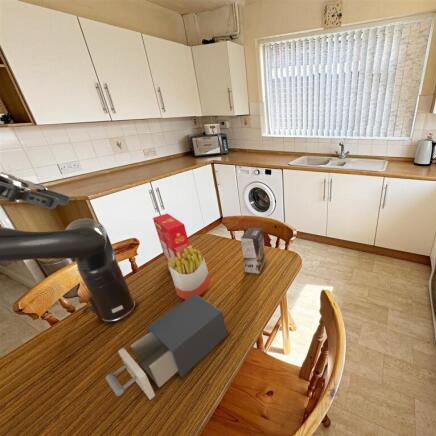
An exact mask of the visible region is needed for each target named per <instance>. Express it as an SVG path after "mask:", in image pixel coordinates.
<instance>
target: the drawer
mask: <svg viewBox="0 0 436 436" xmlns="http://www.w3.org/2000/svg"><path fill="white" fill-rule="evenodd" d="M130 347H131V349H132V351H133V353H134V356H135V358H136V360H137V362H136V360H134V358H133V357H132V356H131V355H130V353H129V352H128V351H127V350H126V349H125V347H122V348H120V349H119V350H117V352H118V355H119V357H120V358H121V360H122V362H123V365H122V366H121V367H119V368H118V369H117V370H115V371H114V372H113V373H112V372H110V373H108V374H107V375H106V376H105V380H106V382H107V384H108V385H109V387H110V388H111V389H112V391H113V392H114V394H115V396H117V397H119V396H122V395H123V393H124V392H125V390H126V389H127V388H128V387H129V386H130V385H132V384H133V383H136V384H137V385H138V386H139V388H140V389H141V390H142V391H143V393H144V394H145V396H147V398H148V399H149V400H150V401H151V400H152V399H153V398H154V397H155V396H156V393H155V391H154V389H153V386H152V385H151V382H150V380H149V378H150V379H151V380H152V381H153V382H154V384H155V386H157V387H158V388H161V387H162V386H163V385H164V384H165V383H167V382H168V381H169V380H170V379H171V378H172V377H174V375H175V374H177V371H178V369H177V366H176V363H175V361H174V358H173V355H172V352H171V351H170V350H169V349H168V348H167V347H166V346H165V345H164V344H163V343H162V342H161V341H159V340H158V339H157V338H156V337H155V336H154V335H153V334H152V333H151V332H147V333H146V334H145V335H143V336H142V337H140V338H139V339H137V340H136V341H134V342H133V343H132V344H130ZM125 369H126V370H127V372H128V373H129V375H130V376H131V379H129V380H128V381H127V382H126V383H125V384H123V385H122V384H121V383H120V382H119V380H118V379H117V378H116V376H117V375H118V374H120V373H121V372H122V371H124V370H125ZM147 375H148V376H149V378H148V376H147Z"/></svg>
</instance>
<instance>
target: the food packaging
mask: <svg viewBox="0 0 436 436" xmlns="http://www.w3.org/2000/svg"><path fill="white" fill-rule="evenodd" d="M152 220H153V224H154V227H155V230H156V232H157V233H156V234H157V237H158V239H159V243H160V247H161V249H162V253H163V255H164V259H165V263H166V265H167V270H168V272H169V274H171V272H170V269H169V266H170V264H169V262H168V259H169V258H172V259H173V261H174V263H175V260H174V257H177V254H176V253H178V252H179V253H180V256H181V258H183V257H182V254H183V253H185V252H184V249H185V248H186V249H187V247H188V246H189V245H190V243H189V239H188V234H187V229H186V226H185V223H183V222H182V221H180V220H178V219H177V218H175V217H174V216H172V215H171V214H169V213H164V214H160V215H158V216H154V217H152ZM187 251H188V249H187ZM188 253H189V251H188ZM177 258H178V257H177ZM178 261H179V260H178Z"/></svg>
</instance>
